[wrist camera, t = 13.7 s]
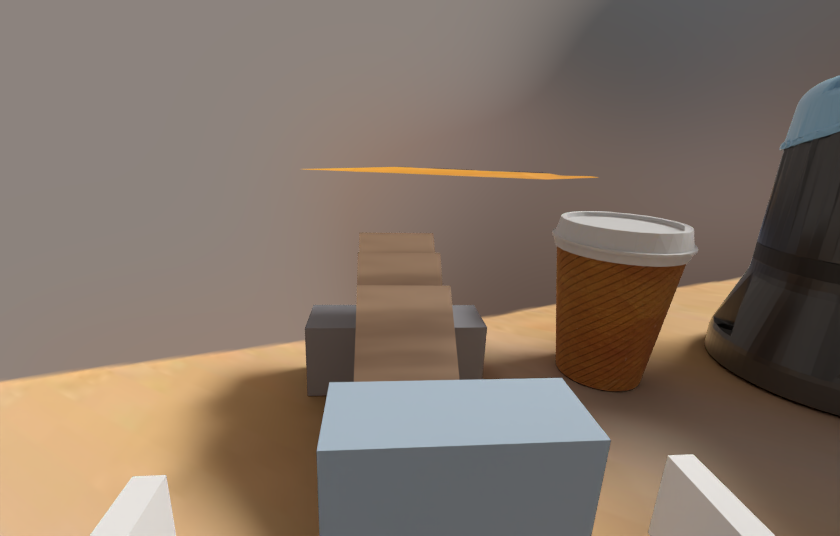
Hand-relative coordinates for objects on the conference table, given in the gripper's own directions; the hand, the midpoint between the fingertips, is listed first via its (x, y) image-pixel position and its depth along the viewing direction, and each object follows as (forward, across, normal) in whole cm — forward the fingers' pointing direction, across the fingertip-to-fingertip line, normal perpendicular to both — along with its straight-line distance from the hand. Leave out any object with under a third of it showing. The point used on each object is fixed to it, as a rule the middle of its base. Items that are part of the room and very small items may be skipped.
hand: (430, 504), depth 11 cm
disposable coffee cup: (+19, +16, -8) cm, 26 cm away
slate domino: (-2, 0, -8) cm, 8 cm away
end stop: (+18, 0, -8) cm, 20 cm away
